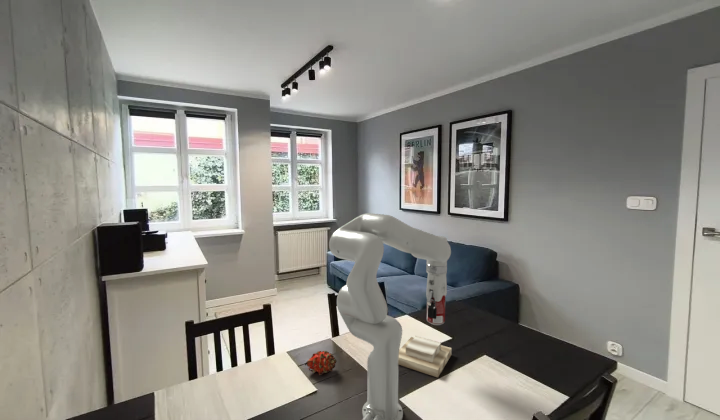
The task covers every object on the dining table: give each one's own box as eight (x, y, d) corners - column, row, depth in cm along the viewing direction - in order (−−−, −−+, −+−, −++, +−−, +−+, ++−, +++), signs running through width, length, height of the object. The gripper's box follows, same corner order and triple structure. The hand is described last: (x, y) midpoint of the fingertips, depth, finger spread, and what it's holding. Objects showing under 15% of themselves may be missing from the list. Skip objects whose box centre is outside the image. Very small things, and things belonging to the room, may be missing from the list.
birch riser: (437, 377, 116) (438, 362, 115) (393, 362, 125) (393, 348, 125) (451, 354, 131) (451, 341, 131) (411, 343, 141) (411, 330, 140)
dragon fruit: (339, 376, 119) (307, 381, 119) (337, 354, 125) (307, 359, 125) (335, 367, 113) (302, 372, 113) (334, 344, 120) (303, 349, 120)
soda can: (445, 327, 116) (445, 295, 115) (426, 325, 118) (427, 294, 117) (444, 319, 123) (445, 289, 122) (426, 317, 124) (427, 288, 123)
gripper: (438, 276, 109) (437, 325, 111) (453, 265, 124) (452, 308, 125) (418, 272, 113) (417, 320, 115) (435, 262, 128) (434, 304, 129)
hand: (435, 313), depth 120 cm, fingers closed on soda can, 6 cm apart
